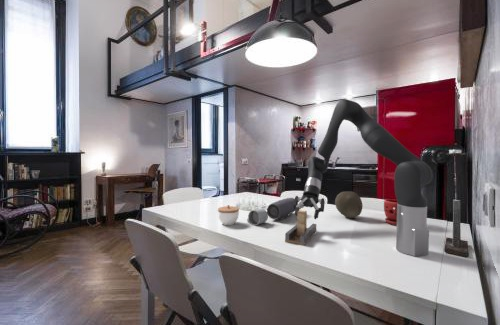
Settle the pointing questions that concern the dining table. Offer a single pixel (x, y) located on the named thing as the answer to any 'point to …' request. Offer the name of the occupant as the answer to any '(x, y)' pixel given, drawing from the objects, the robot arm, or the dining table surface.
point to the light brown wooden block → (301, 221)
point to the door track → (300, 239)
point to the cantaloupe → (349, 204)
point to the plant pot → (390, 211)
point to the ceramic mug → (257, 216)
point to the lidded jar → (228, 214)
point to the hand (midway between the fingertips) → (305, 217)
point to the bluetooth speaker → (281, 208)
